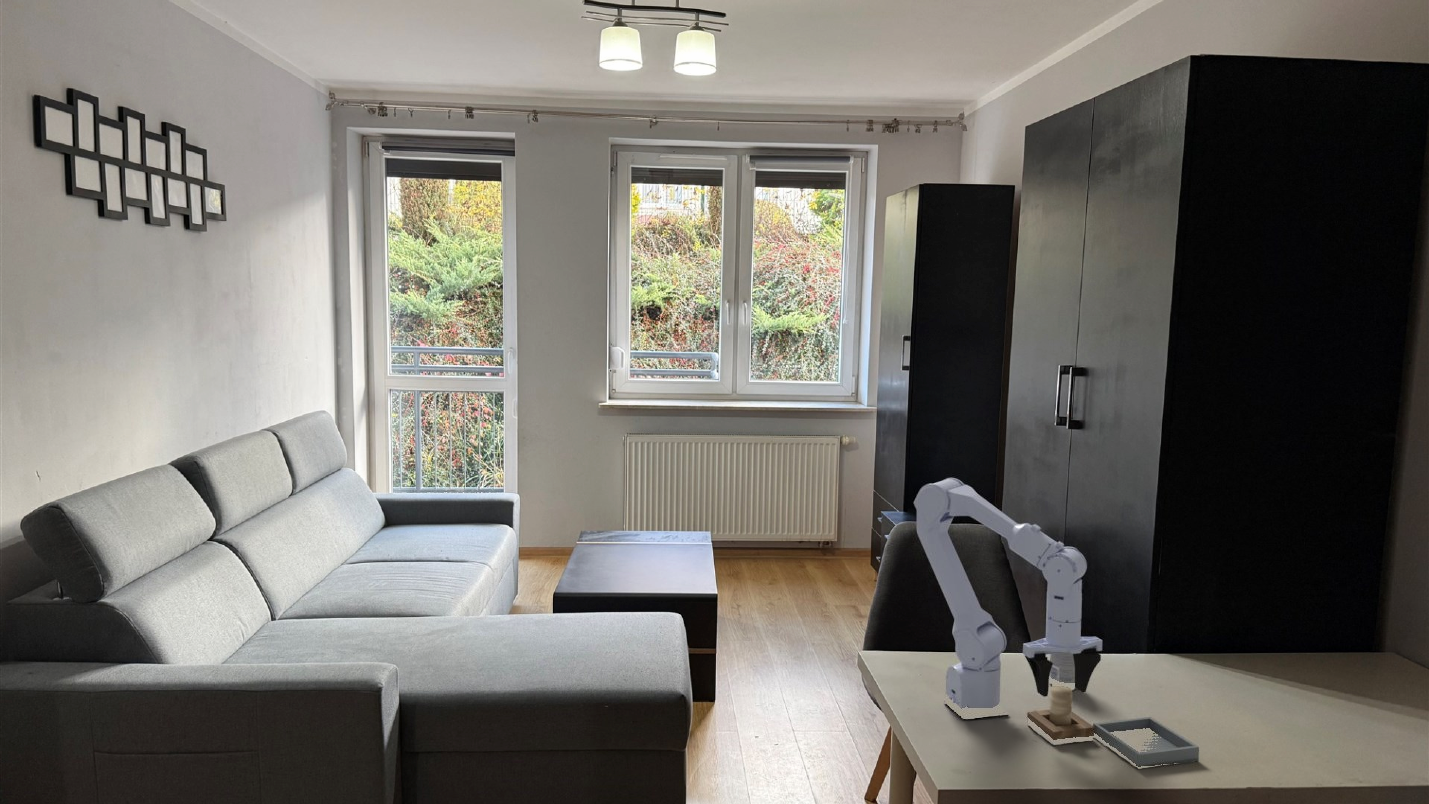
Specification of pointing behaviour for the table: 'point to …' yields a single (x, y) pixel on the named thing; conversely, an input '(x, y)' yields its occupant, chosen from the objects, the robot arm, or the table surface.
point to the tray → (1167, 747)
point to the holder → (1061, 732)
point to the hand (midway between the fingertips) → (1061, 692)
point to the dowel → (1060, 705)
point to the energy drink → (1063, 667)
